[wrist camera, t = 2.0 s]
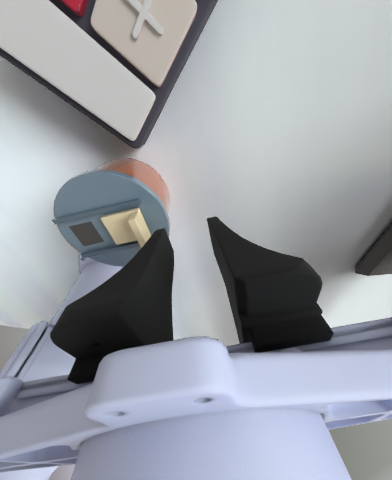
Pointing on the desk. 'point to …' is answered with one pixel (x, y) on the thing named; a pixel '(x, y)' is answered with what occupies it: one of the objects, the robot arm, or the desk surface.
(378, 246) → the computer monitor
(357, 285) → the desk surface
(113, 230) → the lid slider
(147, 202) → the tumbler
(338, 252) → the desk surface
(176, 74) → the dark grey flat box
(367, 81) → the desk surface
